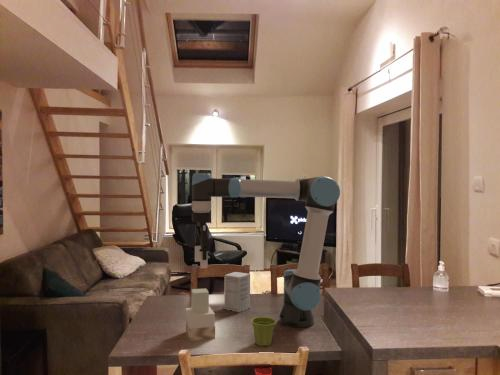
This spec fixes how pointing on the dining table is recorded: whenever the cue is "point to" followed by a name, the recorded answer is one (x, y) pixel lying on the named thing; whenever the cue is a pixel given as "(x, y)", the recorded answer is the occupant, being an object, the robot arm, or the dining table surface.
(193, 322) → the tower top block
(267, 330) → the plant pot
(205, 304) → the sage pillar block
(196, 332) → the tower bottom block
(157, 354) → the dining table surface
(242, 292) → the supplement box
